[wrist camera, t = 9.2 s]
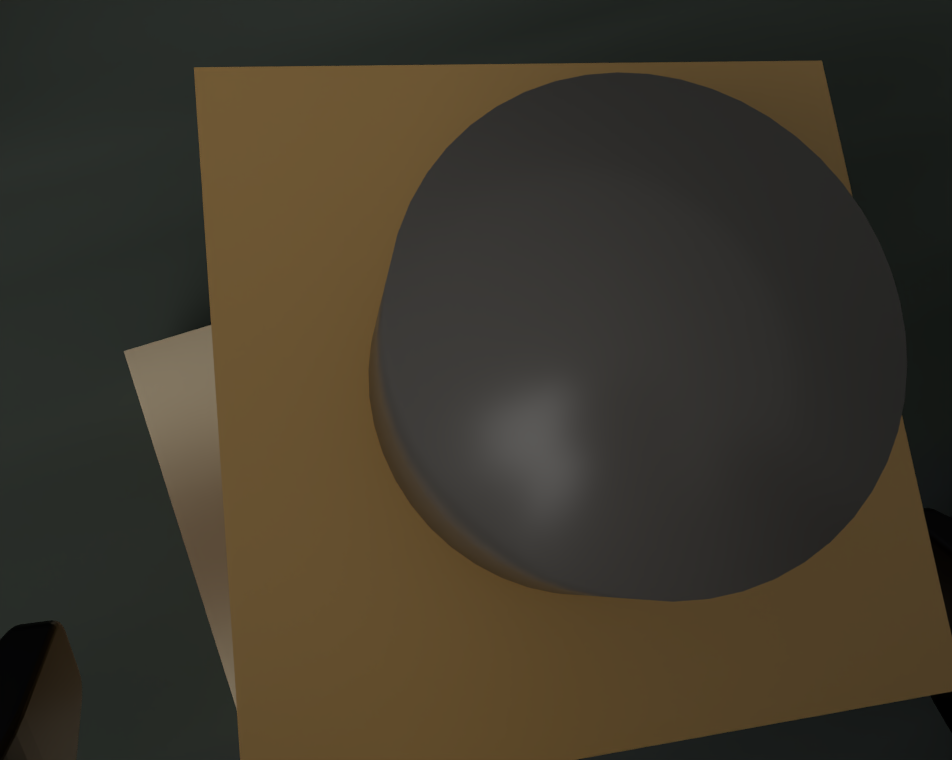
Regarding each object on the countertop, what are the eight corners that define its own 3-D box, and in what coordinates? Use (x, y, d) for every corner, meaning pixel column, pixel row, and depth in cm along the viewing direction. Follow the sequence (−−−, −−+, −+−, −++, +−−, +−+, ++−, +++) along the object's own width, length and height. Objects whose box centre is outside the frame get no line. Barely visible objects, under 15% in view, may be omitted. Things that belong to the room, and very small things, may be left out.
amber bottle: (554, 617, 17) (1159, 721, 5) (291, 655, 16) (217, 913, 4) (519, 367, 18) (949, -70, 6) (269, 388, 17) (157, -89, 5)
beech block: (658, 619, 20) (712, 629, 17) (281, 779, 18) (272, 820, 15) (520, 268, 21) (549, 222, 19) (155, 382, 19) (123, 351, 17)
